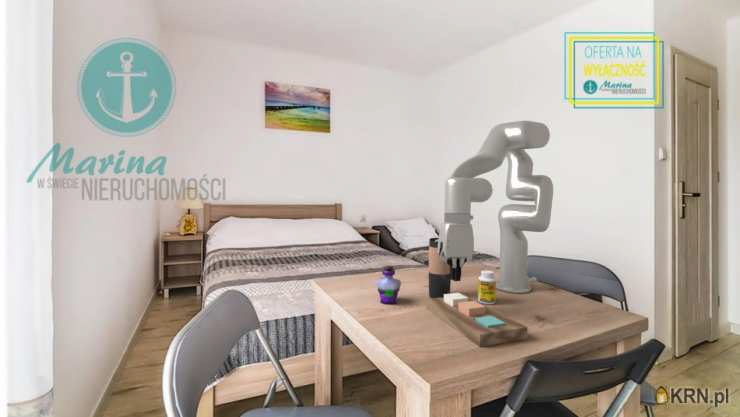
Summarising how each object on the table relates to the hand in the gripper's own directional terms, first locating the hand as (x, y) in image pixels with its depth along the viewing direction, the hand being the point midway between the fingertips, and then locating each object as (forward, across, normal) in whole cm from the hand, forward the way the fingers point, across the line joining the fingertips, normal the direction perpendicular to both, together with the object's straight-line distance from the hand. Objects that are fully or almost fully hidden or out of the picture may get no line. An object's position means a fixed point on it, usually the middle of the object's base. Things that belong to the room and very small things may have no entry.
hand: (455, 280), depth 103 cm
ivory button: (+8, -1, 0) cm, 8 cm away
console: (+10, -1, +8) cm, 13 cm away
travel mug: (+10, -4, -15) cm, 19 cm away
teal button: (+10, -1, +16) cm, 18 cm away
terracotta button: (+8, -1, +8) cm, 11 cm away
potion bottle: (+10, +15, -15) cm, 24 cm away
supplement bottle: (+10, -16, -5) cm, 19 cm away
